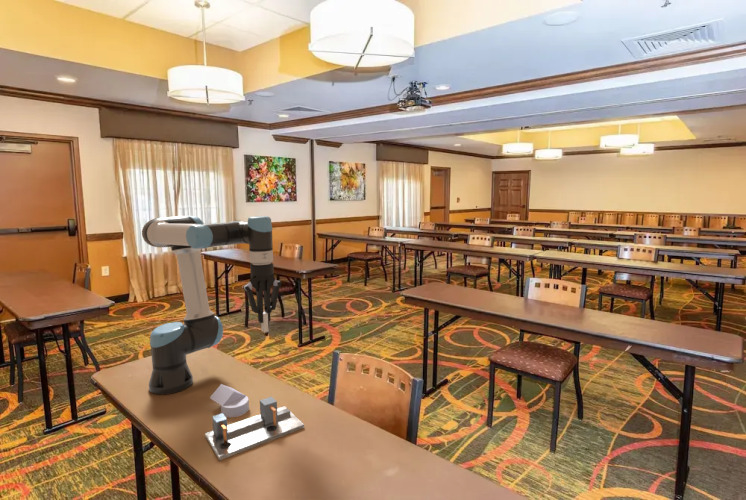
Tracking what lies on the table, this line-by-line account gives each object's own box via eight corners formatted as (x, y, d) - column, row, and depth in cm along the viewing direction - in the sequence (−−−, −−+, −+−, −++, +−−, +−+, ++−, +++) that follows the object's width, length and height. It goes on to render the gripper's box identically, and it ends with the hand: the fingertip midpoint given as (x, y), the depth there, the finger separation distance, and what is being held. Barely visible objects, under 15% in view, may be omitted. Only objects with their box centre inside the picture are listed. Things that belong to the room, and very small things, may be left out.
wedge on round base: (210, 407, 142) (230, 420, 134) (208, 388, 141) (228, 401, 133) (233, 397, 149) (254, 409, 141) (232, 379, 148) (253, 390, 140)
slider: (260, 419, 132) (259, 400, 131) (272, 415, 134) (271, 396, 133) (269, 429, 126) (268, 409, 125) (281, 425, 128) (281, 405, 127)
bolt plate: (205, 436, 125) (203, 413, 124) (284, 409, 140) (284, 388, 139) (219, 460, 114) (217, 434, 113) (304, 427, 129) (303, 404, 128)
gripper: (246, 266, 130) (250, 338, 134) (284, 262, 138) (287, 330, 141) (238, 263, 136) (242, 332, 139) (275, 259, 144) (278, 324, 147)
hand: (264, 331), depth 140 cm, fingers closed
